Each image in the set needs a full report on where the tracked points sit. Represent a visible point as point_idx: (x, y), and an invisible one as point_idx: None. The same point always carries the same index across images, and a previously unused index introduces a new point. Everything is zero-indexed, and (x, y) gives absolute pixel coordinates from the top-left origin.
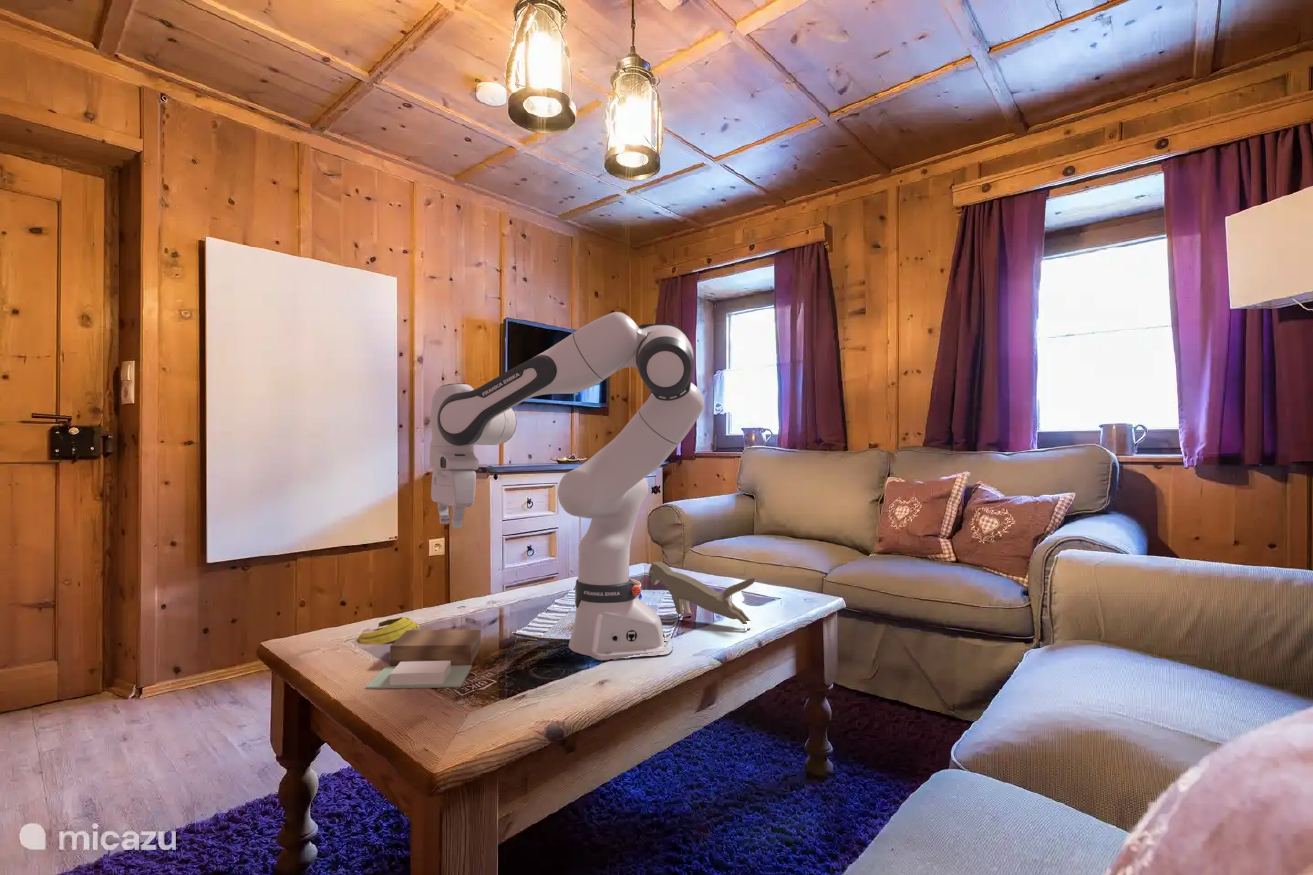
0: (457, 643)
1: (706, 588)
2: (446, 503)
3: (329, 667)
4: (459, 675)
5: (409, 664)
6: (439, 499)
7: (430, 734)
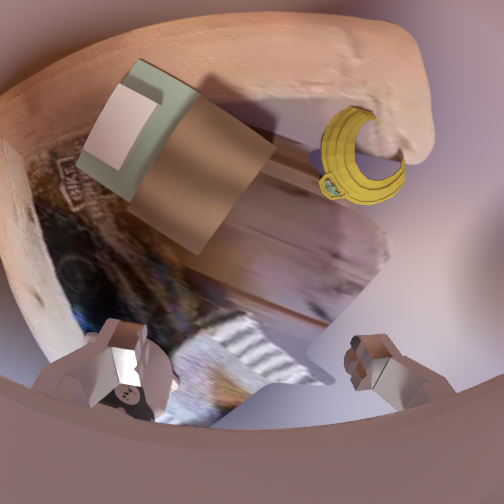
0: (144, 194)
1: None
2: (134, 425)
3: (260, 37)
4: (104, 174)
5: (137, 112)
6: (380, 436)
7: (9, 114)
